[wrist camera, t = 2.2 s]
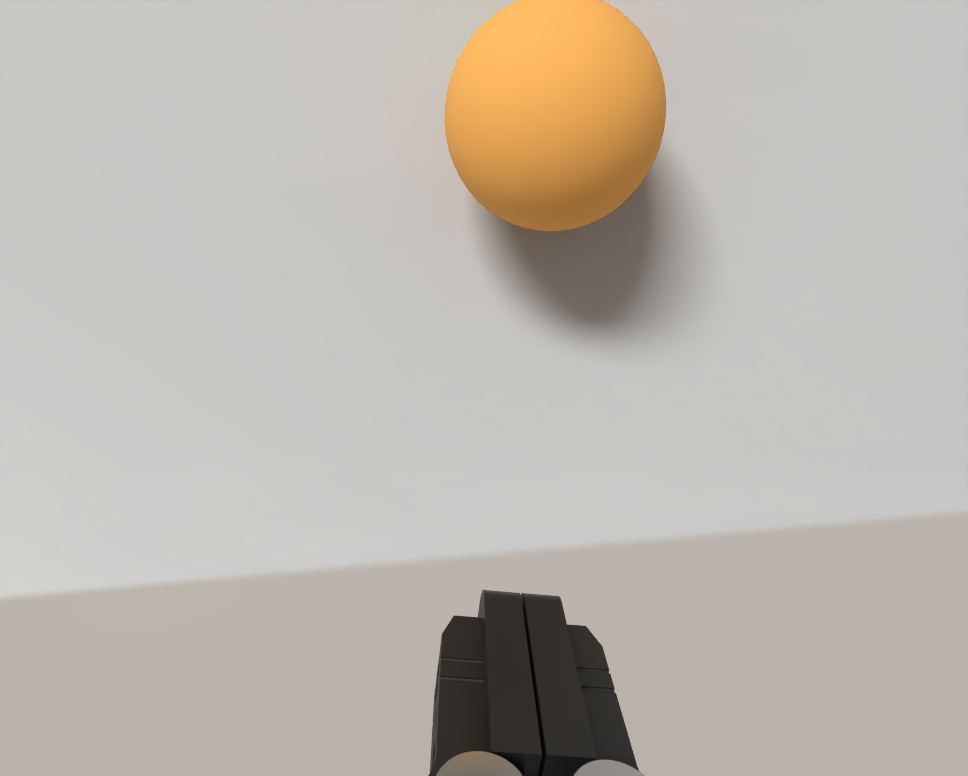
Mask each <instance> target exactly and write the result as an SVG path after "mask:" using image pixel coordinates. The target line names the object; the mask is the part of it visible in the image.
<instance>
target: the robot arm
mask: <svg viewBox="0 0 968 776" xmlns="http://www.w3.org/2000/svg"><path fill="white" fill-rule="evenodd" d="M429 776H644V775H643V774H642V773H640V772H639V770H638V767H637V764H636V761H635V757H634V754H633V750H632V747H631V744H630V740H629V737H628V733H627V730H626V727H625V723H624V719H623V716H622V713H621V709H620V706H619V702H618V699H617V695H616V693H614V685H613V682H612V678H611V675H610V674H609V668H608V665H607V661H606V658H605V654H604V651H603V647H602V646H601V644H600V643H599V642H598V641H597V639H596V638H595V637H594V636H593V634H592V633H591V632H590V631H589V629H588V628H587V627H586V626H578V625H567V624H566V619H565V615H564V610H563V606H562V602H561V599H560V597H559V596H549V595H537V594H526V593H522V594H521V595H520V593H511V592H500V591H489V590H488V591H487V590H482V594H481V598H480V605H479V612H478V617H465V616H454V617H453V618H452V620H451V621H450V623H449V624H448V626H447V627H446V629H445V630H444V632H443V633H442V638H441V647H440V655H439V663H438V671H437V679H436V687H435V695H434V710H433V728H432V747H431V764H430V774H429Z"/></svg>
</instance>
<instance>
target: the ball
mask: <svg viewBox="0 0 968 776" xmlns="http://www.w3.org/2000/svg"><path fill="white" fill-rule="evenodd" d="M665 118H666V96H665V86H664V81H663V77H662V73H661V69H660V66H659V64H658V61H657V58H656V56H655V53H654V52H653V50H652V48H651V46H650V44H649V42H648V41H647V39H646V38H645V36H644V35H643V34H642V32H641V31H640V29H639V28H638V27H637V26H636V25H635V24H634V23H633V22H632V21H631V20H630V19H629V18H628V17H627V16H626V15H624V14H623V13H622V12H620V11H619V10H618V9H617V8H615V7H613V6H611V5H610V4H608V3H606V2H604V1H602V0H519V1H516V2H514V3H512V4H510V5H508V6H507V7H505V8H503V9H501V10H500V11H498V12H497V13H496V14H494V15H493V16H492V17H491V18H489V19H488V20H487V21H486V22H485V23H484V24H483V25H482V26H481V27H480V28H479V29H478V30H477V31H476V32H475V33H474V35H473V36H472V37H471V39H470V40H469V41H468V43H467V44H466V46H465V48H464V49H463V51H462V53H461V55H460V56H459V58H458V60H457V63H456V65H455V68H454V70H453V72H452V76H451V79H450V83H449V86H448V90H447V97H446V104H445V130H446V138H447V143H448V147H449V152H450V155H451V158H452V160H453V163H454V166H455V168H456V170H457V172H458V174H459V176H460V178H461V180H462V181H463V183H464V184H465V186H466V187H467V189H468V190H469V191H470V192H471V194H472V195H473V196H474V197H475V198H476V199H477V201H478V202H480V203H481V204H482V205H483V206H484V207H485V208H486V209H488V210H489V211H490V212H492V213H493V214H495V215H496V216H498V217H499V218H501V219H503V220H505V221H507V222H509V223H511V224H514V225H517V226H520V227H523V228H527V229H532V230H538V231H564V230H570V229H574V228H579V227H582V226H585V225H588V224H590V223H593V222H595V221H597V220H599V219H601V218H603V217H605V216H606V215H608V214H609V213H611V212H612V211H613V210H615V209H616V208H618V207H619V206H620V205H621V204H622V203H623V202H624V201H626V200H627V199H628V198H629V197H630V196H631V194H632V193H633V192H634V191H635V190H636V189H637V188H638V186H639V185H640V184H641V182H642V181H643V179H644V178H645V176H646V175H647V173H648V172H649V170H650V168H651V166H652V164H653V162H654V160H655V158H656V155H657V152H658V150H659V147H660V144H661V140H662V136H663V132H664V125H665Z"/></svg>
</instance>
